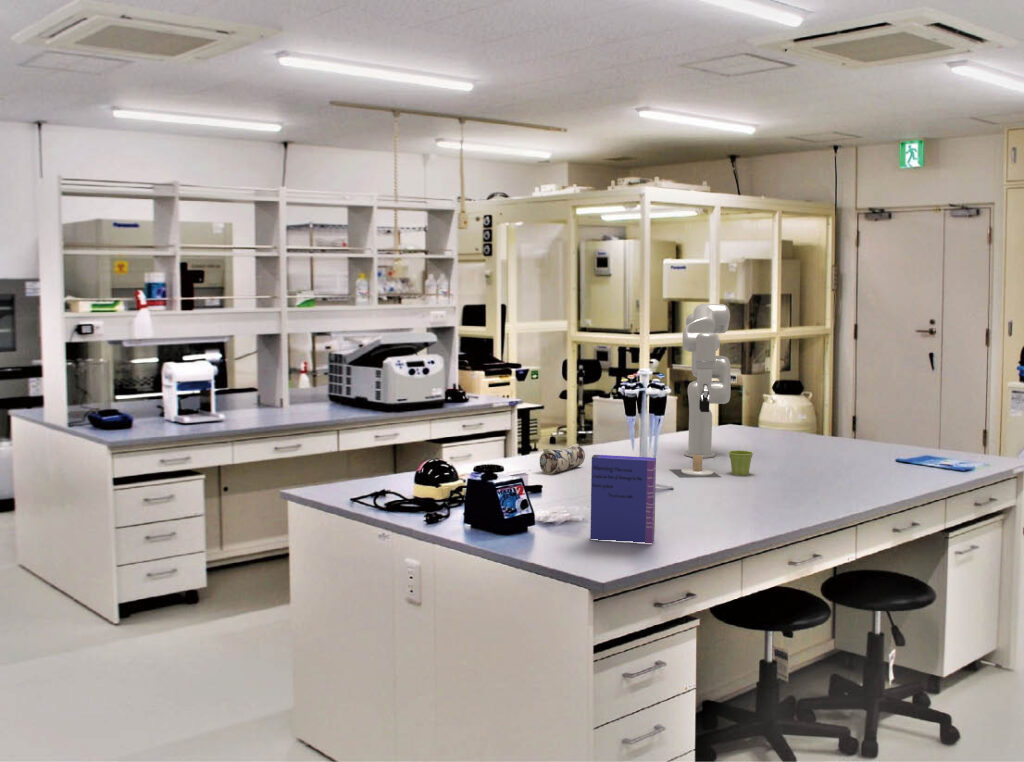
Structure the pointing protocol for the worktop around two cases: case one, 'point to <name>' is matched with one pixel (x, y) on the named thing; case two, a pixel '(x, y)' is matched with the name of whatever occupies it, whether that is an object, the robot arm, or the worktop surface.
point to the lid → (697, 467)
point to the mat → (680, 475)
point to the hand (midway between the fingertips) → (704, 410)
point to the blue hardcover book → (623, 498)
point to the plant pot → (740, 462)
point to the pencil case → (561, 459)
